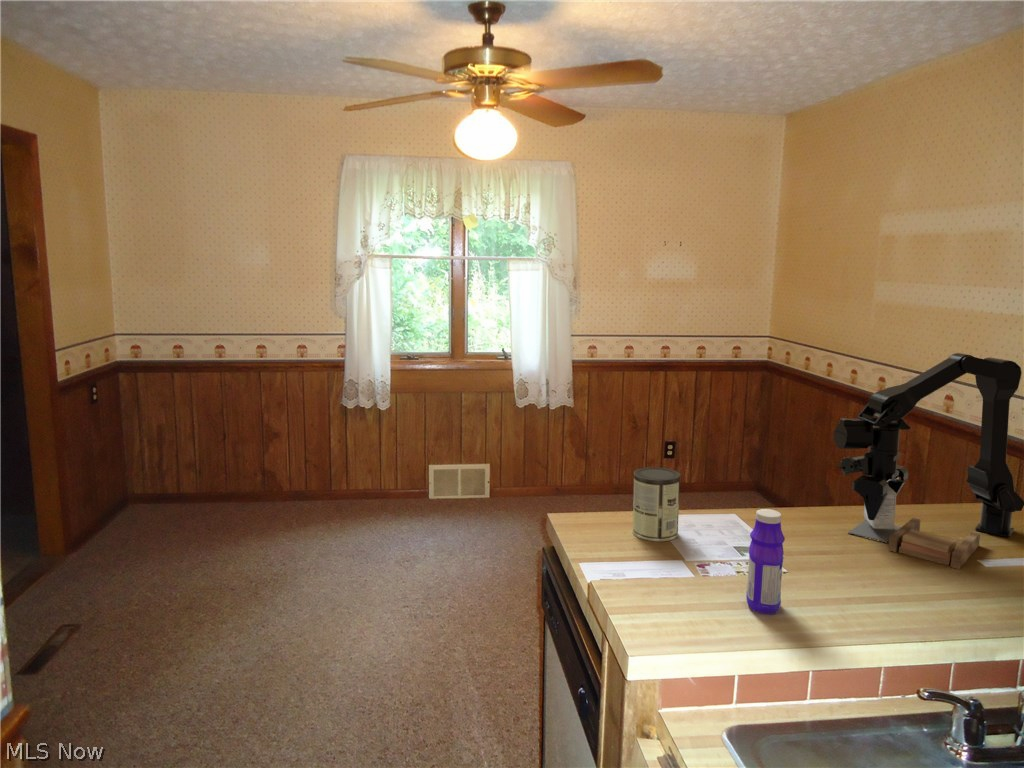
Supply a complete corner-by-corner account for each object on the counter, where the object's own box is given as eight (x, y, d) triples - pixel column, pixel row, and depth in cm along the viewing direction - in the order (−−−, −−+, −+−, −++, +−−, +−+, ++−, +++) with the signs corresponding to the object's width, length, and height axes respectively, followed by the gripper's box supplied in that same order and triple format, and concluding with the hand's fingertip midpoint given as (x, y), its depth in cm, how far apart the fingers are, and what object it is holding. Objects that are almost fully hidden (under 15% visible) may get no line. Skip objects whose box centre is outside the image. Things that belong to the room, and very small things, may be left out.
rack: (912, 530, 157) (913, 517, 156) (978, 545, 148) (980, 532, 147) (888, 550, 145) (889, 537, 144) (959, 569, 136) (960, 554, 135)
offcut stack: (907, 544, 148) (908, 528, 148) (956, 557, 142) (958, 540, 141) (898, 553, 144) (899, 536, 143) (948, 566, 137) (950, 549, 137)
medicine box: (894, 530, 151) (897, 493, 150) (872, 528, 152) (875, 491, 151) (883, 518, 159) (886, 482, 157) (862, 516, 160) (865, 481, 158)
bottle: (782, 618, 116) (788, 521, 113) (747, 614, 118) (752, 517, 115) (777, 599, 123) (784, 507, 120) (744, 595, 124) (750, 504, 122)
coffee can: (641, 522, 162) (643, 464, 159) (684, 530, 156) (686, 471, 154) (624, 535, 153) (626, 475, 151) (668, 545, 147) (671, 482, 145)
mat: (866, 520, 163) (866, 519, 163) (903, 529, 157) (903, 527, 157) (848, 533, 154) (848, 532, 154) (886, 543, 149) (886, 541, 149)
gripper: (860, 435, 165) (855, 497, 167) (830, 449, 152) (825, 516, 154) (911, 443, 157) (905, 508, 159) (885, 458, 144) (878, 529, 146)
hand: (878, 514), depth 155 cm, fingers closed on medicine box, 9 cm apart
